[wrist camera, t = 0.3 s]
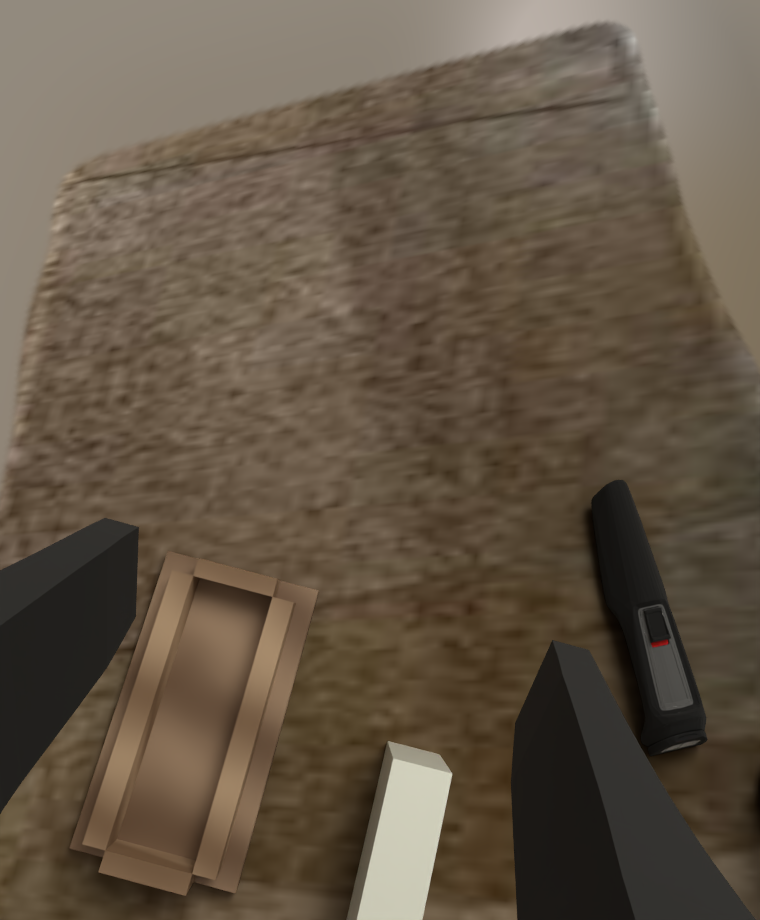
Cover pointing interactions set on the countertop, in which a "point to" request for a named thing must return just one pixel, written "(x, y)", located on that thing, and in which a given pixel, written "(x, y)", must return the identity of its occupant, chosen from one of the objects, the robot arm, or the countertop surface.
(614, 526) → the electric trimmer
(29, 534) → the countertop surface
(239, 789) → the tray
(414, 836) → the clay strip
